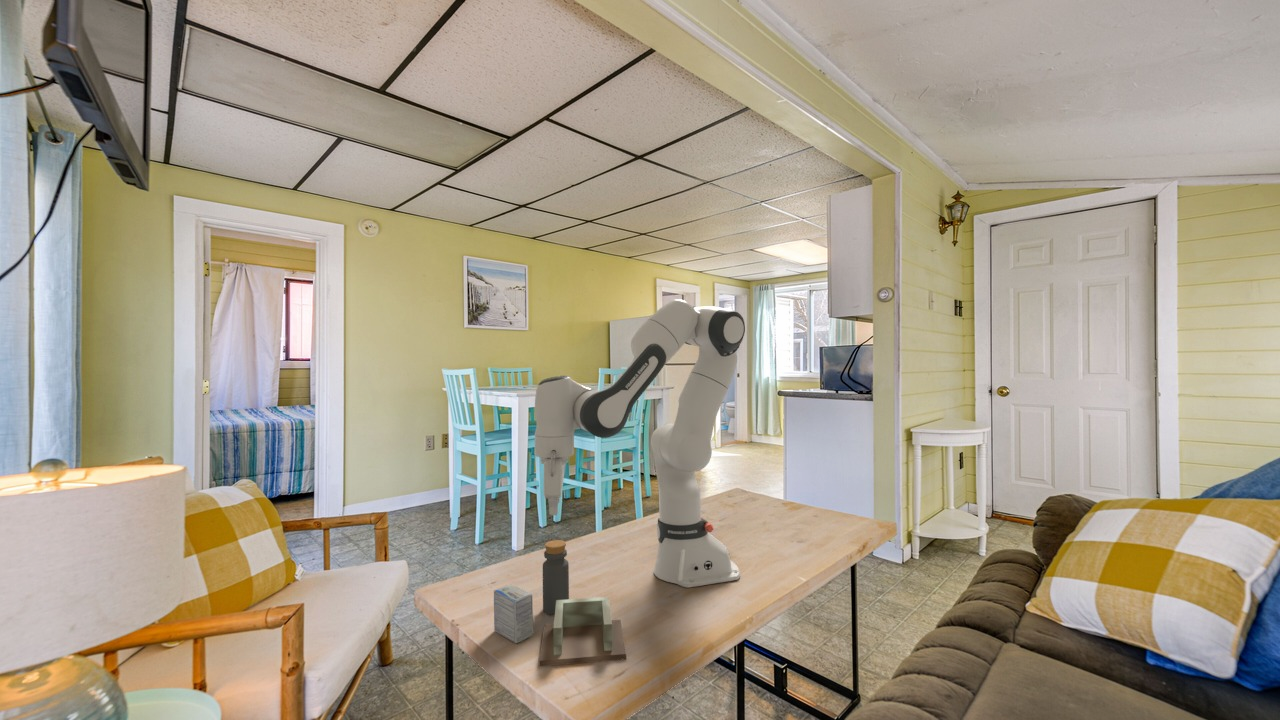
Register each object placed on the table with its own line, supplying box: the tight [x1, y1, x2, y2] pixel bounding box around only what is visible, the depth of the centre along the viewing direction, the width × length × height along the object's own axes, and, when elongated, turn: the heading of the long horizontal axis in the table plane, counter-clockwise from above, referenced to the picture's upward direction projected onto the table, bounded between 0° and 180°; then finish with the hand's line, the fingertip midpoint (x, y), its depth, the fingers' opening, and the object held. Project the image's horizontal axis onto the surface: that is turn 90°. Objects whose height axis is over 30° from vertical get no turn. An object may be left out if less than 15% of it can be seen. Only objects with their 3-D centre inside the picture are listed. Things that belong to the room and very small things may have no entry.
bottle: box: [542, 539, 570, 617], centre depth 114 cm, size 6×6×15 cm
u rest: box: [539, 596, 627, 667], centre depth 100 cm, size 16×13×6 cm
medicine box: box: [493, 583, 534, 644], centre depth 104 cm, size 8×4×9 cm, turn 48°
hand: (554, 508), depth 115 cm, fingers open, 8 cm apart
